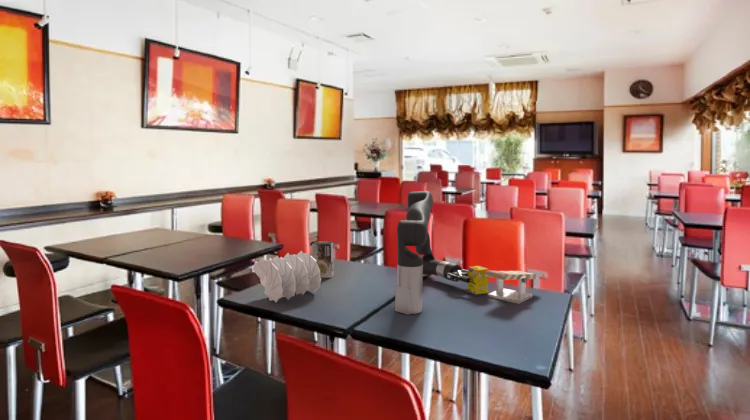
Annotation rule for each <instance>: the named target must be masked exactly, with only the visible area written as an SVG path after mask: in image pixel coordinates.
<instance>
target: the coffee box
mask: <svg viewBox="0 0 750 420" xmlns="http://www.w3.org/2000/svg"><path fill="white" fill-rule="evenodd" d="M311 248H312V249H311V251H312V254H311V256H312V257H313V258H314V259H315V260H316V261H317V262H316V263H317V264H318V267H319V269H320V278H321V279H322V278H329V279H332V278H333V277H334V276H335V272H334V271H335V269H334V268H335V267H334V265H335V263H334V262H335V261H334V260H335V258H334V256H335V255H334V241H318V240H317V241H314V242H313V243H312V244H311Z"/></svg>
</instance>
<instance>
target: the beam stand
mask: <svg viewBox="0 0 750 420" xmlns="http://www.w3.org/2000/svg"><path fill="white" fill-rule="evenodd" d="M527 280H528V279H527V278H526V277H525V276H523V277H520V278H519V280H518V290H514V289H510V288H505V287H504V280H501V279H496V285H495V287H496V288H495V290H494V291H492V292H490V293H488V294H487V295H488V298H490V299H491V298H492V299H496V300H501V301H505V302H509V303H513V304H517V305H519V304H522V303H523V302H525V301H528V300H530V299H531V298H533V294H532V293H530V292H529V293H528V292H526V285H527Z"/></svg>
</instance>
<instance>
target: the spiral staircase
mask: <svg viewBox="0 0 750 420" xmlns="http://www.w3.org/2000/svg"><path fill="white" fill-rule="evenodd" d="M316 262H317V261H316V260H315V259H314V258H313V257H312V255H311V254H310V253H308V252H307V253H306V252H303V250H300V251H299V252H298V253H297V254H294V253H293V254H290V253H289V252H287V253H286V254H285V255H284V256H283V257H282V256H280V257H279V255H276V256H275V257H273V258H271V257H269V258H268V259H265V258H264V257H261V258H260V259H259V260H258V261H257V260H255V261H254V264H253V267H252V271H254V272H253V273H255V274H256V275H257V277H258V278H259V281H260V284H261V285H262V286H263V287H264V295H266V296H267V297H268V300H269V301H270V302H271V301H274V303H277V302H278V301H279V300H280V299H282V298H286V299H287V300H290V299H291V298H292V297H295V294H296V295H300V294H301V295H302V296H304V294H305V293H306V292H313V293H315V292H316V291H317V290H318V289H320V288H321V283H322V278H320V269H319V267H318V264H317V263H316Z"/></svg>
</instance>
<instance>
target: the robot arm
mask: <svg viewBox="0 0 750 420" xmlns="http://www.w3.org/2000/svg"><path fill="white" fill-rule="evenodd" d="M433 205H434V198H433V195H432V193H431V192H430V191H428V190H420V191H410V192H409V193H408V194H407V208H408V209H407V212H406V215H405V218H406V219H405V220H403V219H401V220H399V221H398V223H397V227H396V243H397V244H396V245H397V263H396V264H397V266H396V267H397V272H396V273H397V274H396V277H397V278H396V279H397V282H396V283H397V284H396V285H395V288H394V289H395V291H394V292H395V294H394V295H395V296H394V297H395V300H394V301H395V302H394V304H395V305H394V307H395V308H394V309H395V312H397V313H401V314H405V315H406V316H407V315H417V314H420V313H422V312H423V282H424V281H423V279H424V278H423V276H424V275H433V276H437V277H440V278H442V279H445V280H446V281H447V280H449V281H451V282H455V283H457V282H463V283H466V284H468V283H469V282H470V278H469V277H468V269H464V268H462V267H461V266H460V264H457V263H452V262H451V261H450V262H449V261H444V260H443V261H442V260H440V259H435V256H434V253H433V251H432V248H431V239H430V234H429V231H428V230H429V228H428V225H429V222H430V218H431V217H430V216H431V211H432V209H433ZM408 247H415V252H416V253H415V252H413V251H411V250H410V249H409V248H408Z"/></svg>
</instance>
